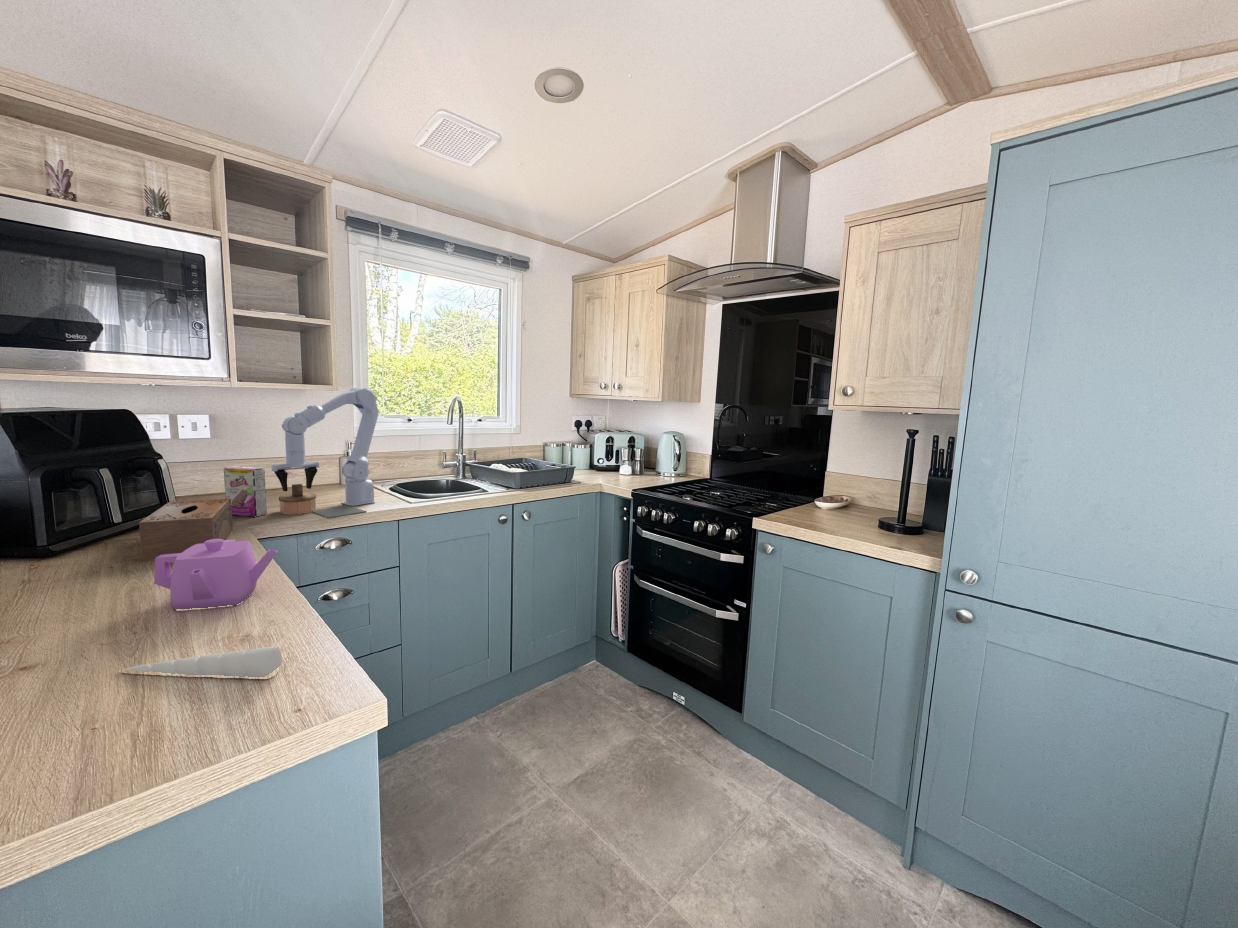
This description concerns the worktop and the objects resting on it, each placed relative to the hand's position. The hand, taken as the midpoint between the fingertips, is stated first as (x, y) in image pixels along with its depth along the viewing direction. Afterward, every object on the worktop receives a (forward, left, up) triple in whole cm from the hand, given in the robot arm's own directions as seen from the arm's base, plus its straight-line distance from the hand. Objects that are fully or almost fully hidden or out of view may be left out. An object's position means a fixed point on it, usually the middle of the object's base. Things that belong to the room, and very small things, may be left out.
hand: (297, 489), depth 183 cm
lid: (0, 0, -3) cm, 3 cm away
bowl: (0, 0, -8) cm, 8 cm away
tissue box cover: (+35, +22, -8) cm, 42 cm away
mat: (-9, +11, -8) cm, 16 cm away
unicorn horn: (+54, +104, -8) cm, 117 cm away
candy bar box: (+14, -5, -8) cm, 17 cm away
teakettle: (+43, +71, -8) cm, 83 cm away
